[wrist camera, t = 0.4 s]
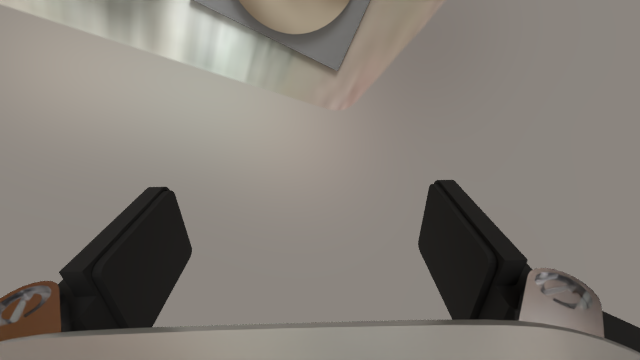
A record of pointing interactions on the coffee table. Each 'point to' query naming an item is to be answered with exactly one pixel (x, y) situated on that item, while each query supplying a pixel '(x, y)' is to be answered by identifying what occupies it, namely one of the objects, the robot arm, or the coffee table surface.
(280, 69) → the coffee table surface
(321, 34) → the mat
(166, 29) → the coffee table surface
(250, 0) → the lid
